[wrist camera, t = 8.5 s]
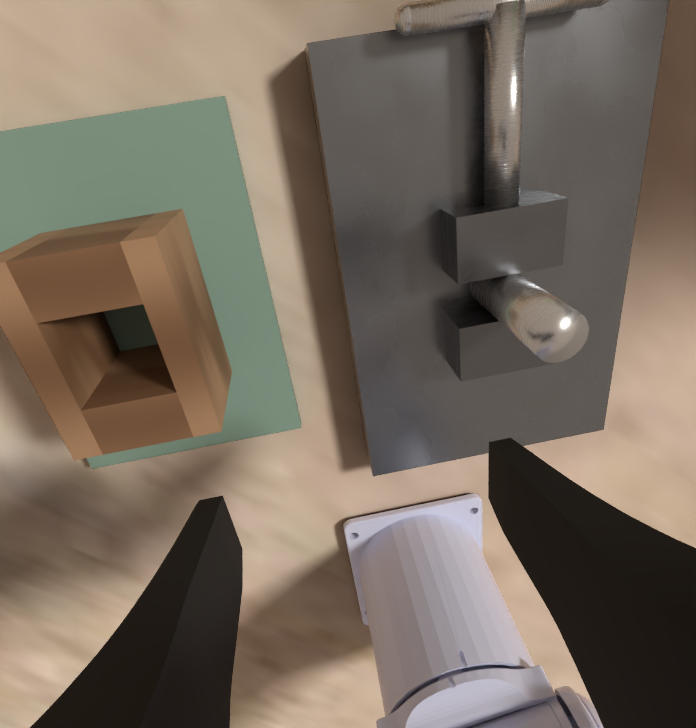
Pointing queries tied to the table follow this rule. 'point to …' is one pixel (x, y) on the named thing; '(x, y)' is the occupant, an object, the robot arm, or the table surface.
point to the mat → (154, 195)
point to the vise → (485, 214)
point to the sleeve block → (97, 343)
